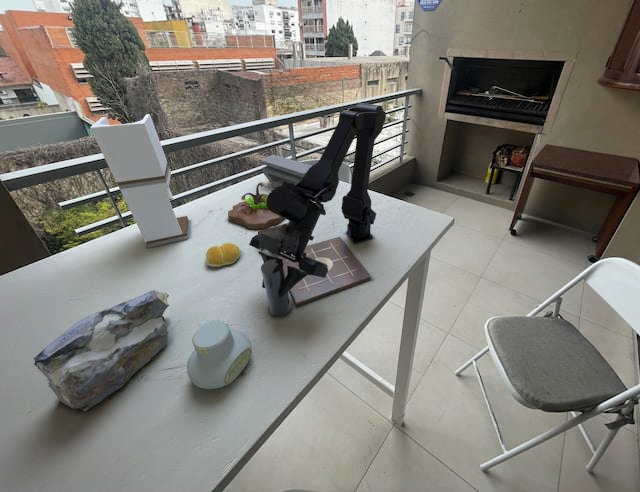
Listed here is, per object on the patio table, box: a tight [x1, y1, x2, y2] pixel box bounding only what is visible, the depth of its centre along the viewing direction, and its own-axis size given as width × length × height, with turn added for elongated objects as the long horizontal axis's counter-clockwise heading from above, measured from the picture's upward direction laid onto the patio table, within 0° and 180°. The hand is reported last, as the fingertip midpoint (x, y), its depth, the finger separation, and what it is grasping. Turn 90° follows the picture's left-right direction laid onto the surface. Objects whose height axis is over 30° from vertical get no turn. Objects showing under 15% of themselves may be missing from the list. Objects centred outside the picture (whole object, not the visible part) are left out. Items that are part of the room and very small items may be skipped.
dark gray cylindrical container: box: [260, 259, 292, 318], centre depth 62 cm, size 5×5×13 cm
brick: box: [257, 222, 289, 236], centre depth 87 cm, size 11×4×5 cm, turn 123°
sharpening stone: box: [258, 154, 313, 189], centre depth 117 cm, size 25×8×11 cm, turn 56°
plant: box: [227, 181, 285, 230], centre depth 99 cm, size 20×20×11 cm
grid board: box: [279, 236, 371, 307], centre depth 78 cm, size 20×20×1 cm
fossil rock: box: [33, 289, 170, 413], centre depth 52 cm, size 20×10×15 cm, turn 153°
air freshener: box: [186, 319, 253, 390], centre depth 51 cm, size 11×8×10 cm
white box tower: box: [89, 113, 190, 248], centre depth 81 cm, size 11×11×35 cm
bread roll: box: [205, 242, 242, 268], centre depth 80 cm, size 8×9×4 cm
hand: (271, 292), depth 61 cm, fingers closed on dark gray cylindrical container, 4 cm apart
